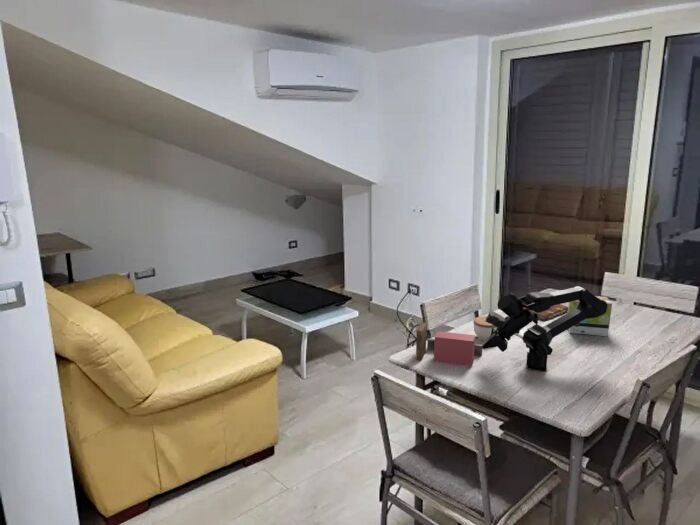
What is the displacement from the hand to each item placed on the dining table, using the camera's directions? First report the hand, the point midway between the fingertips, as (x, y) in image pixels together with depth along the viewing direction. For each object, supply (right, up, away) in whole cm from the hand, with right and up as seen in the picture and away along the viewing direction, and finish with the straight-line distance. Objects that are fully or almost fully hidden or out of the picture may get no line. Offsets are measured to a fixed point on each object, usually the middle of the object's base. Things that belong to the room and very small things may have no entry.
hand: (482, 347), depth 189 cm
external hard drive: (+26, 0, +30) cm, 39 cm away
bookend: (-11, -5, +8) cm, 14 cm away
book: (+44, +7, +58) cm, 73 cm away
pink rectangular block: (-9, -6, +5) cm, 12 cm away
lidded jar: (+8, -1, +26) cm, 27 cm away
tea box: (+53, +2, +32) cm, 62 cm away
